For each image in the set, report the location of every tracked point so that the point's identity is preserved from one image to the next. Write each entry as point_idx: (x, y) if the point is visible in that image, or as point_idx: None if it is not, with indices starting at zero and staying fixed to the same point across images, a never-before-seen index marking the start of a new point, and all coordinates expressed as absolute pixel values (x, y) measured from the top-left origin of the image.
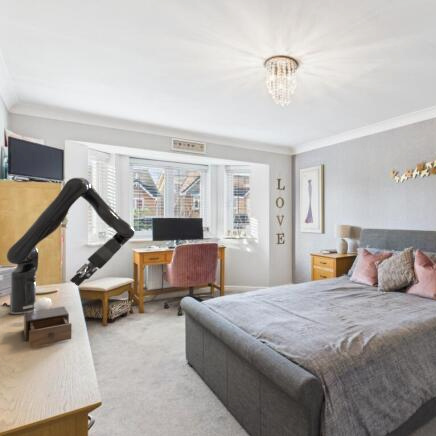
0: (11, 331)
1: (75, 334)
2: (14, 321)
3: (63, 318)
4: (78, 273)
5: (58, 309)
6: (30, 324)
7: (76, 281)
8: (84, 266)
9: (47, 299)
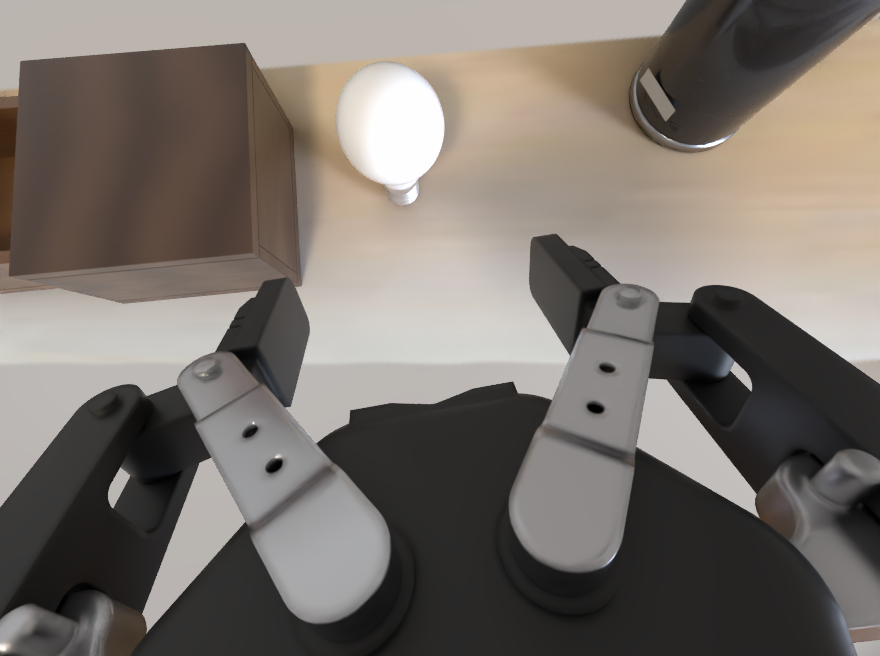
0: (320, 83)
1: (63, 331)
2: (498, 80)
3: (4, 252)
4: (593, 322)
5: (185, 219)
6: (7, 97)
7: (257, 295)
8: (543, 466)
9: (359, 126)
